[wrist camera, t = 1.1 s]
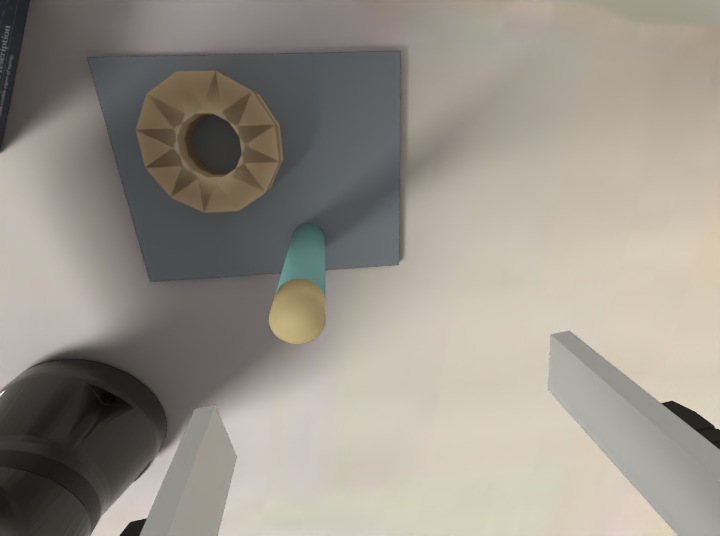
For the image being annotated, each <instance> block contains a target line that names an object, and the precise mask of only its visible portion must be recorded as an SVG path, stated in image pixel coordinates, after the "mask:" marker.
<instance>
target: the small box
mask: <svg viewBox="0 0 720 536" xmlns="http://www.w3.org/2000/svg"><path fill="white" fill-rule="evenodd" d="M28 6H29V0H0V148H1V143H2V138H3V133H4V128H5V123H6V118H7V113H8V108H9V103H10V97H11V92H12V87H13V83H14V77H15V71H16V67H17V62H18V57H19V52H20V46H21V42H22V36H23V31H24V27H25V21H26V16H27V10H28Z"/></svg>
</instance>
